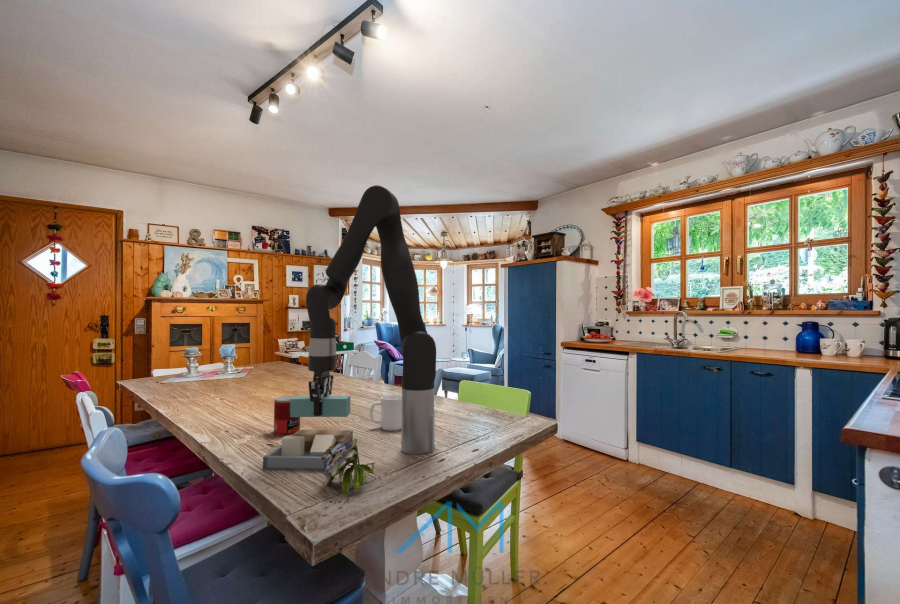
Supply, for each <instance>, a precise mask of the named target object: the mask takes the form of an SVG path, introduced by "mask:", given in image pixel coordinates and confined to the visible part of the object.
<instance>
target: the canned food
mask: <svg viewBox="0 0 900 604" xmlns="http://www.w3.org/2000/svg"><path fill="white" fill-rule="evenodd" d="M296 396H297V395H281V396H277V397H276V398H274V402H273V403H274V404H273V405H274V406H273V407H274V411H273V432H274V434H275V435H276V436H280V435H281V436H283V437H285V436H284V435H286V436H291V435H292V434H294V433H296V432H297V431H299V430H301V417H290V399H292V398H294V397H296Z"/></svg>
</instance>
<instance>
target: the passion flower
mask: <svg viewBox="0 0 900 604" xmlns="http://www.w3.org/2000/svg"><path fill="white" fill-rule="evenodd" d="M357 441H358V438H353V442H352V443H350V442H347V443H345V444H343V445H342V446H340V447H339V448H337V451H336V453H332V452H331V450H332V448H333V447H334V446H335V444H333V445H331V446H330V447H329V448H328V449H326V452H325V453H324V454H323V456H322V458H321V460H323V459H324V458H325V457H326V456H328V454H331V455H332V456H331V459H330V460H329V461H328V463H327V464H326V465H325V468H326V469H325V470H324V471H323V477H325V478H326V481H325V482H324V483H325V484H324V486H325V487H327V486H328V487H329V486H330V485H332V483H333V481H334V479H335V477H336V476H338V479H339V481H341V482H342V483H341V485H342V489H341V490H342V493H343V495H345V496H346V497H349V492H350V489H351V486H352V482H353V491H354V493H356V492H357V491H358V490H359V489H360V487H363V486H364V484H365V482H366V480H367V474H366V473H368V474H374V473H375V464H376V462H371V463H367V464H364V463H362V464H361V463H360V457H359V450H358V445H357ZM369 465H371V466H369ZM347 466H348V468H347ZM352 479H353V481H352Z"/></svg>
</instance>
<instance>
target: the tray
mask: <svg viewBox="0 0 900 604" xmlns="http://www.w3.org/2000/svg"><path fill="white" fill-rule="evenodd" d="M340 446H342V443H338V444H337V445H336V446H335V447H334V448H333V449H332V450H331V452H332V453H336V451H337V448H339V447H340ZM281 449H282V443H281V444H280V445H279V446H277V447H275V448H274V449H273V450H271V451H270V452H268V453H267V454H265V455H264V456H263V458H262V470H263V471H264V470H265V471H270V470H271V471H308V472H309V471H314V472H316V471H317V472H318V471H319V472H321V471H322V472H324V470H325V469H326V468H325V465H326V464H327V463H328V461H329V460H330V459H331V456H332V455H331V454H328V456H326V457H325V458H324V459H323V460H321V458H322V457H313V456H312V455H311V453H310V452H304V456H281Z"/></svg>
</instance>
